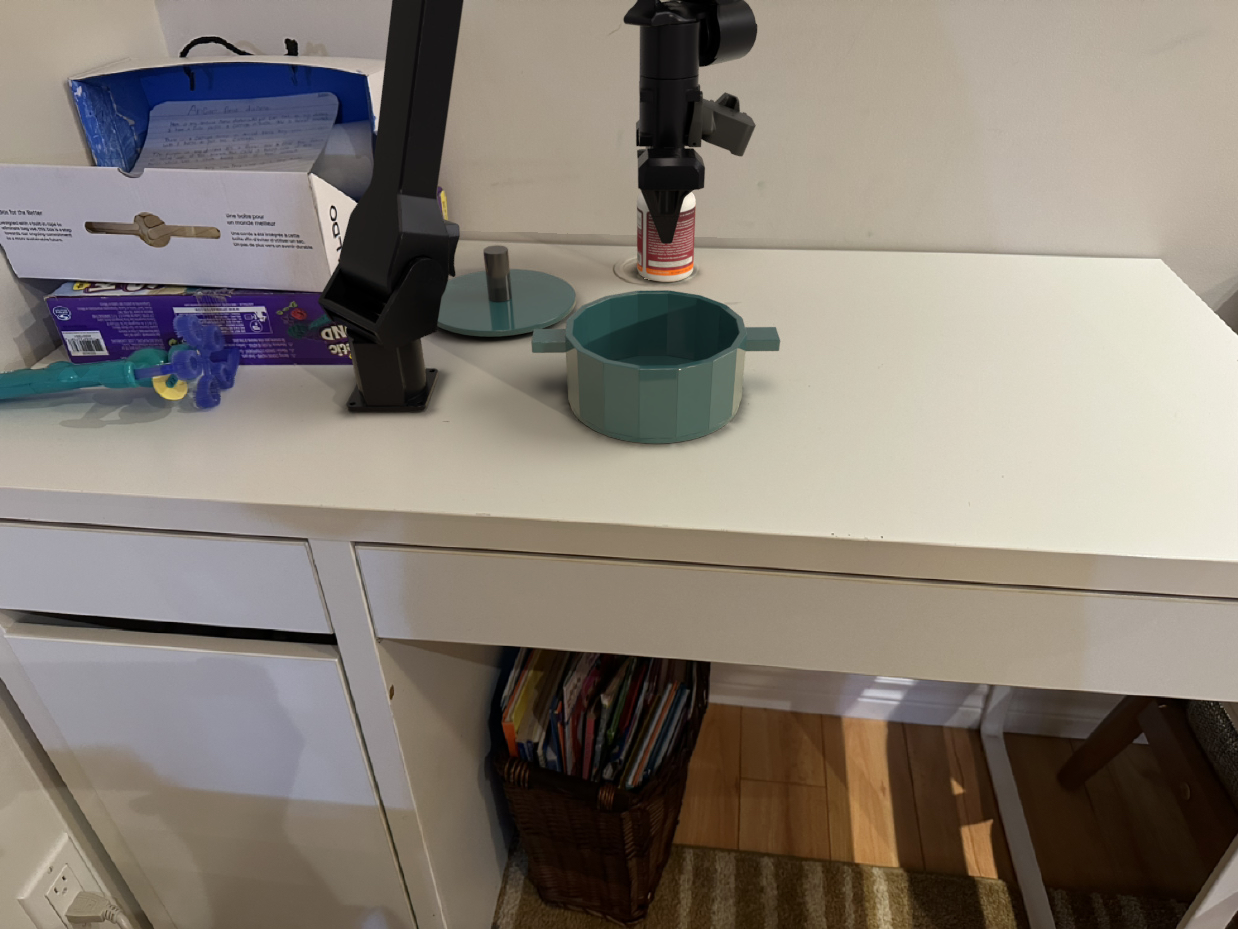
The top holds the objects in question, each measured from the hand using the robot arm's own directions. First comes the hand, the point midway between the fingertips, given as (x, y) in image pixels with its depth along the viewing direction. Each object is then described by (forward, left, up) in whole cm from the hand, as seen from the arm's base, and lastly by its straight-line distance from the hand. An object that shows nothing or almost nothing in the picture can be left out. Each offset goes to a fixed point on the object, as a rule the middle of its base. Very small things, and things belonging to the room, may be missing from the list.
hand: (665, 232), depth 90 cm
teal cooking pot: (-27, +2, -4) cm, 27 cm away
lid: (-9, +17, -4) cm, 20 cm away
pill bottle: (0, 0, -5) cm, 5 cm away
